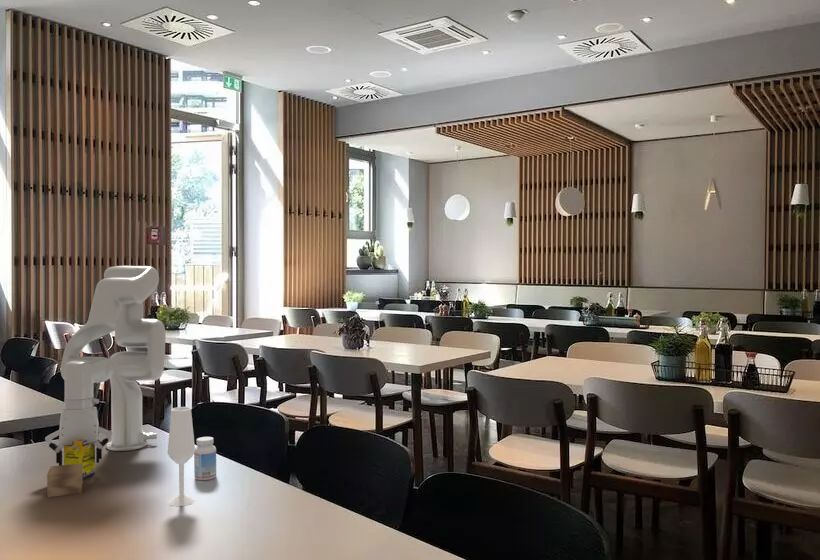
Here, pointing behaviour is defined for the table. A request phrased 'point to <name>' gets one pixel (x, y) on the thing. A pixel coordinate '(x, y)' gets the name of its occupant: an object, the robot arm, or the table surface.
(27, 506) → the table surface
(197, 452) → the pill bottle
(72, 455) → the supplement box
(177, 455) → the champagne flute
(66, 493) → the tan wooden block
